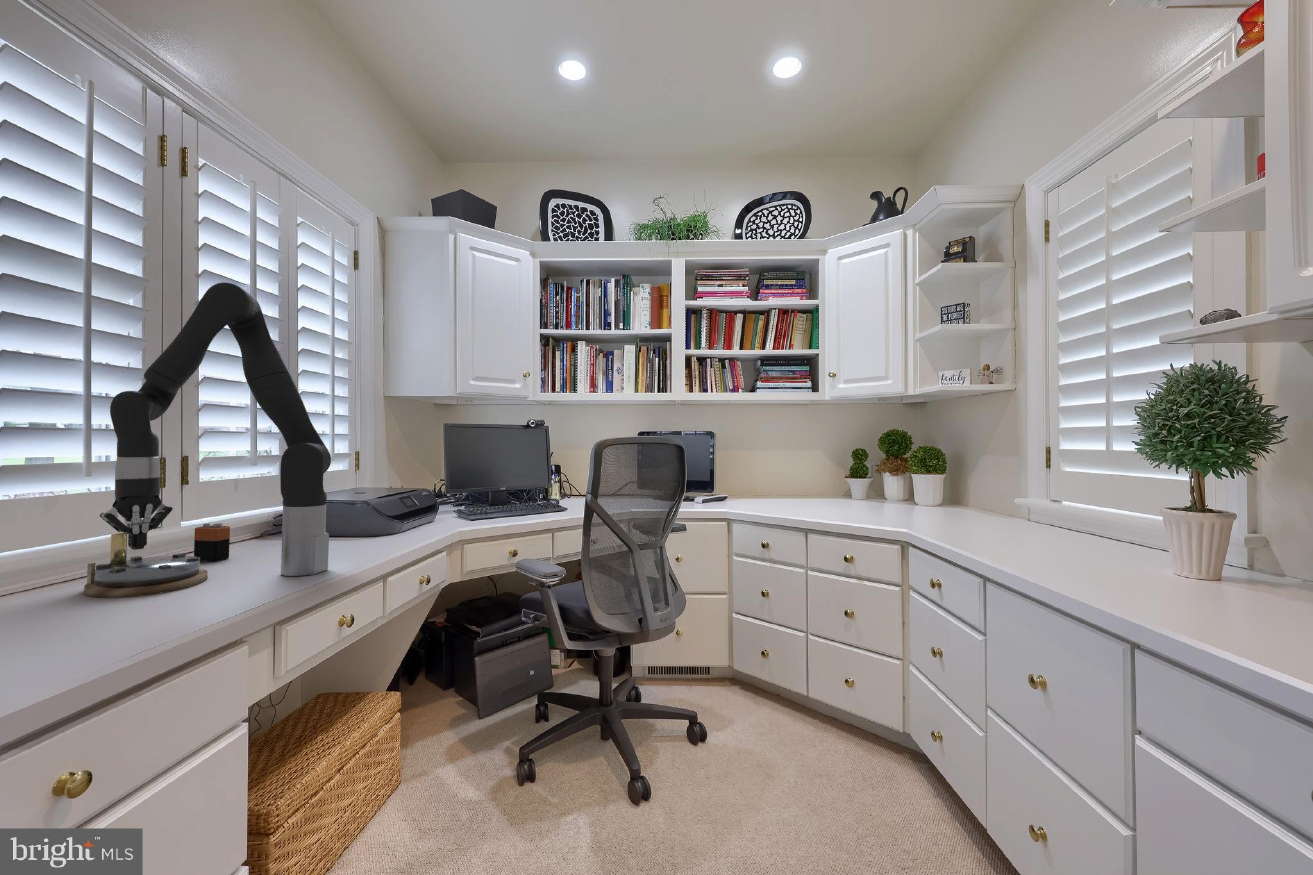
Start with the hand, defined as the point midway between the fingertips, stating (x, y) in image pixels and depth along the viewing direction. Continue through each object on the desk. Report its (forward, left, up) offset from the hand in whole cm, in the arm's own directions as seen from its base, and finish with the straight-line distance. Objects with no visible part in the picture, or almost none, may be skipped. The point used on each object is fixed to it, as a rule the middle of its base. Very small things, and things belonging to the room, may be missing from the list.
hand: (137, 548), depth 122 cm
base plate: (-7, +4, -7) cm, 11 cm away
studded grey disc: (-7, +4, -5) cm, 10 cm away
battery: (-1, -21, -7) cm, 22 cm away
